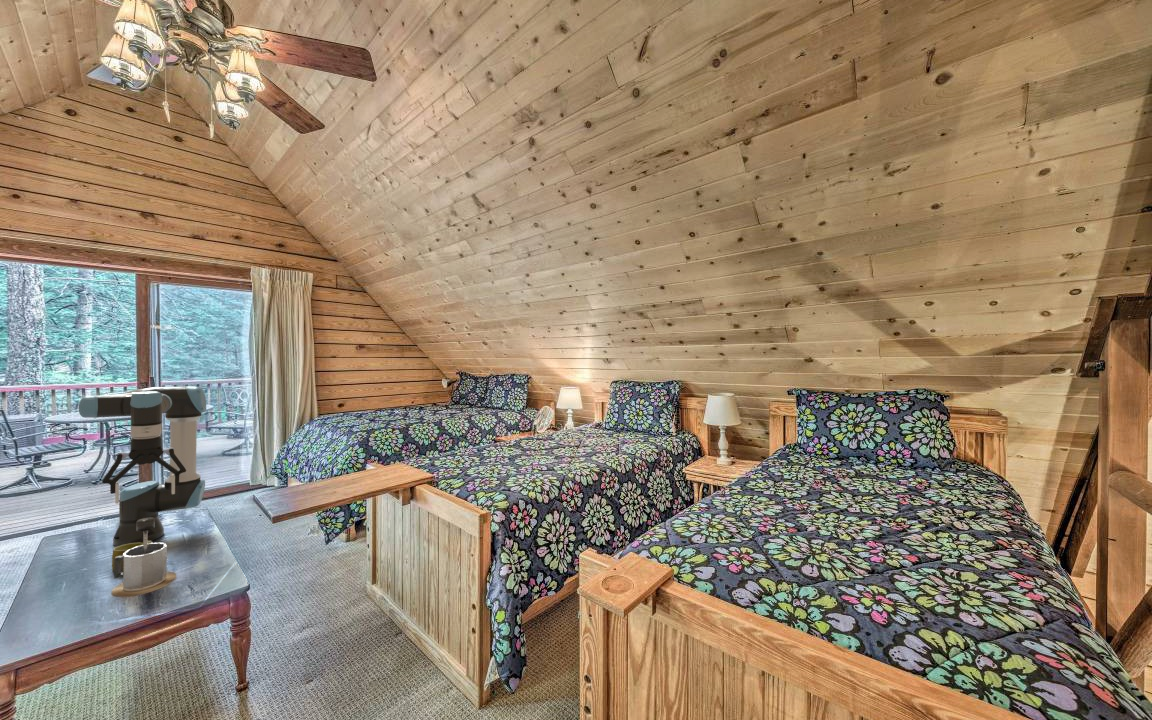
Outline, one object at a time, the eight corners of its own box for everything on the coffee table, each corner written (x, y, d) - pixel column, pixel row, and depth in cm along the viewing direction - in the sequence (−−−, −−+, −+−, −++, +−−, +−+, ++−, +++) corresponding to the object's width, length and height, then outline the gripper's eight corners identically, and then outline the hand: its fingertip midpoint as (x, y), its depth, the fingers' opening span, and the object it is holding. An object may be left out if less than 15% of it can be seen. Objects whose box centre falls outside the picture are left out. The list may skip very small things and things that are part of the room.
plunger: (137, 572, 149) (138, 517, 149) (164, 569, 152) (164, 514, 151) (125, 583, 142) (125, 525, 142) (152, 579, 145) (153, 522, 145)
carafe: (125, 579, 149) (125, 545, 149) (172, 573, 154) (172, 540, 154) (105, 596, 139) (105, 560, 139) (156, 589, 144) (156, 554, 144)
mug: (123, 572, 151) (124, 543, 154) (102, 577, 153) (103, 548, 156) (163, 563, 163) (163, 536, 165) (143, 567, 165) (144, 541, 167)
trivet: (129, 577, 152) (129, 575, 152) (185, 570, 158) (185, 568, 158) (98, 602, 137) (98, 600, 137) (162, 593, 143) (162, 592, 143)
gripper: (90, 443, 134) (90, 509, 135) (195, 434, 153) (195, 492, 153) (92, 439, 140) (92, 503, 140) (193, 430, 158) (193, 487, 158)
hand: (146, 497), depth 147 cm, fingers open, 13 cm apart
